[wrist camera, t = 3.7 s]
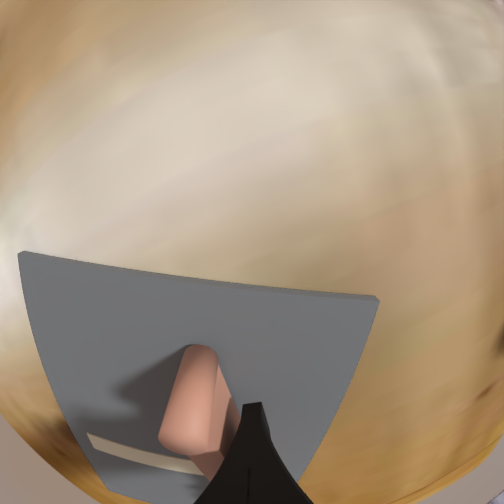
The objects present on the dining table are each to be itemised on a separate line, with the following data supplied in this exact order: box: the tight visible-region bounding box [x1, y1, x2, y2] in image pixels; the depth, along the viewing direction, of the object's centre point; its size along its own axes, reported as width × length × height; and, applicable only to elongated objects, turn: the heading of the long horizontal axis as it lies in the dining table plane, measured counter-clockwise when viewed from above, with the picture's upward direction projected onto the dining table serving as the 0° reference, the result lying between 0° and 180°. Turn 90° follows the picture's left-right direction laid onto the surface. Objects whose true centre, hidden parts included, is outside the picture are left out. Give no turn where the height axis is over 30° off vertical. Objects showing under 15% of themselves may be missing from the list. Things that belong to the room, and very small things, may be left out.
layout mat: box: [18, 251, 380, 504], centre depth 11 cm, size 24×16×5 cm, turn 173°
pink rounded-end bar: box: [158, 344, 241, 482], centre depth 9 cm, size 12×2×4 cm, turn 13°
